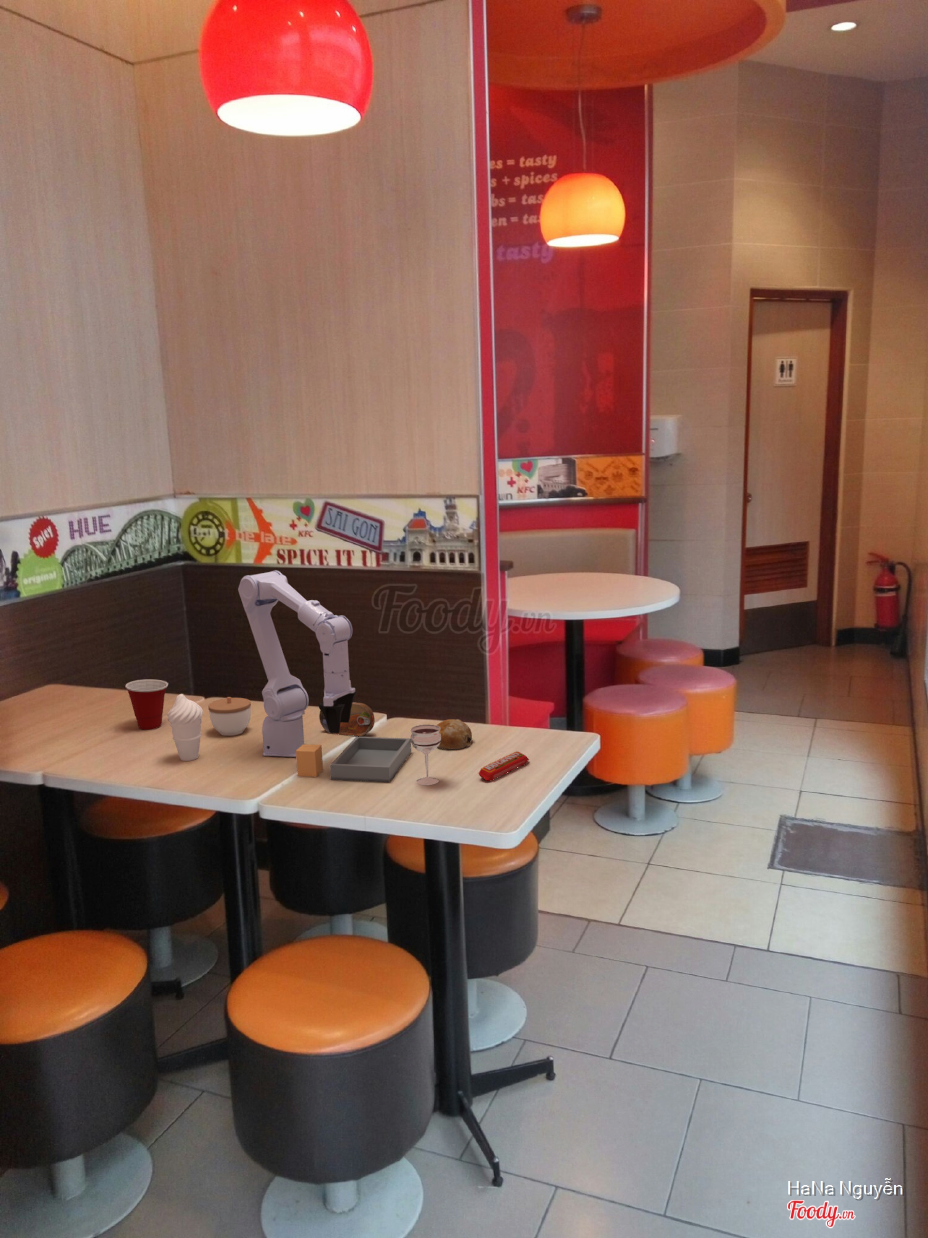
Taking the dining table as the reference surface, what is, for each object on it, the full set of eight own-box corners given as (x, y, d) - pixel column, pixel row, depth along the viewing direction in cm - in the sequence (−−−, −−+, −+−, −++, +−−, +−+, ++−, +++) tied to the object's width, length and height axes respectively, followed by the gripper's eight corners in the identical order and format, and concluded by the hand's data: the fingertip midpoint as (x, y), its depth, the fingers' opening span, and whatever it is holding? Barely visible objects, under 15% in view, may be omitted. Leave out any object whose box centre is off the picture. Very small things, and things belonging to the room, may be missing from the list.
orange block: (297, 776, 222) (295, 751, 220) (304, 769, 226) (302, 744, 225) (316, 776, 221) (314, 751, 220) (323, 769, 225) (321, 745, 224)
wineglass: (423, 773, 220) (420, 722, 218) (448, 778, 217) (446, 726, 215) (406, 783, 215) (403, 731, 212) (432, 788, 211) (430, 735, 209)
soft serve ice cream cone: (214, 754, 238) (208, 691, 234) (191, 766, 230) (185, 700, 227) (187, 750, 241) (181, 688, 238) (163, 761, 234) (157, 697, 230)
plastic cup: (164, 732, 256) (160, 688, 253) (123, 733, 256) (119, 689, 253) (177, 719, 266) (173, 677, 264) (137, 720, 266) (133, 678, 264)
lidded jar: (217, 741, 247) (214, 705, 245) (206, 730, 256) (202, 696, 254) (258, 733, 252) (255, 698, 250) (245, 723, 262) (243, 689, 260)
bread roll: (460, 765, 235) (473, 737, 233) (422, 746, 236) (434, 718, 234) (468, 751, 245) (480, 724, 243) (431, 733, 246) (443, 706, 244)
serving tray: (330, 779, 218) (330, 765, 218) (357, 750, 237) (356, 736, 237) (389, 782, 216) (388, 767, 215) (411, 752, 235) (410, 738, 234)
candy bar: (488, 785, 213) (488, 772, 213) (475, 781, 216) (475, 768, 215) (531, 763, 226) (531, 751, 225) (518, 760, 228) (518, 748, 227)
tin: (319, 732, 252) (317, 701, 250) (325, 729, 255) (323, 698, 253) (371, 738, 246) (369, 706, 244) (377, 734, 249) (375, 702, 247)
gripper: (343, 679, 214) (347, 738, 217) (362, 662, 228) (365, 718, 231) (313, 678, 215) (316, 737, 218) (333, 661, 229) (336, 717, 232)
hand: (339, 727), depth 225 cm, fingers open, 7 cm apart
